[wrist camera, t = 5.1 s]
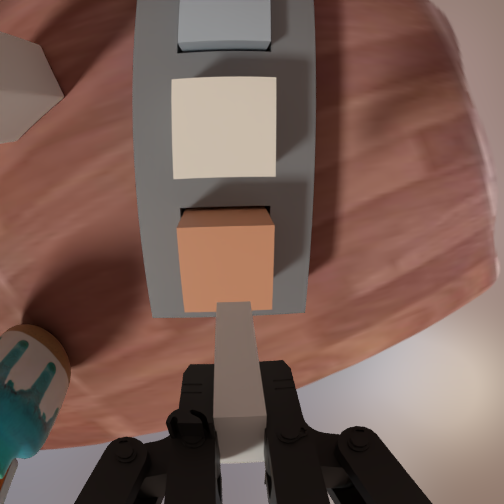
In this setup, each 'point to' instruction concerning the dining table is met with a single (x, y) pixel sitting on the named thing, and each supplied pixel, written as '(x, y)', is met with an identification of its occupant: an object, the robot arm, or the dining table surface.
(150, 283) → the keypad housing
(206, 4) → the key slate
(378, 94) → the dining table surface
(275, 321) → the dining table surface
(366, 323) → the dining table surface
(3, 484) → the alarm clock
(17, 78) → the milk carton
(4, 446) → the vase
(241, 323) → the robot arm
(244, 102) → the key ivory
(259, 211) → the key rust
